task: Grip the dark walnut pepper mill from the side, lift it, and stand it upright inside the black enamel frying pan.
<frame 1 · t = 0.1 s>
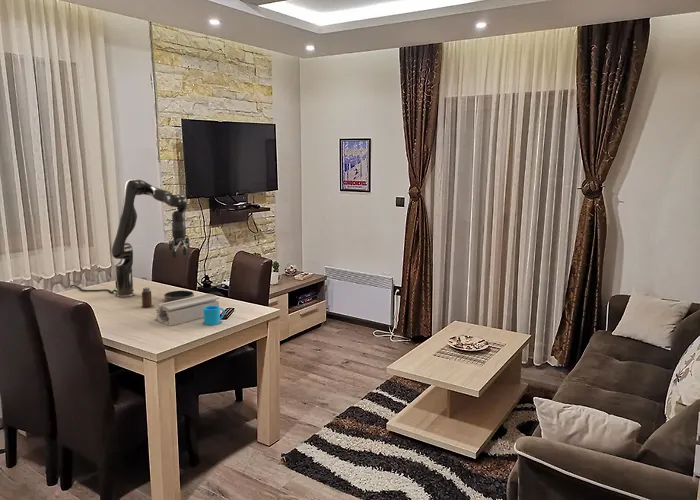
hand: (179, 256, 294), 29 cm above the table, tool pointing down, fingers open, 8 cm apart
pepper mill: (147, 306, 293), on the table
aluminum extrusion profile: (188, 316, 277), on the table
pan: (179, 299, 309), on the table
mug: (215, 322, 268), on the table
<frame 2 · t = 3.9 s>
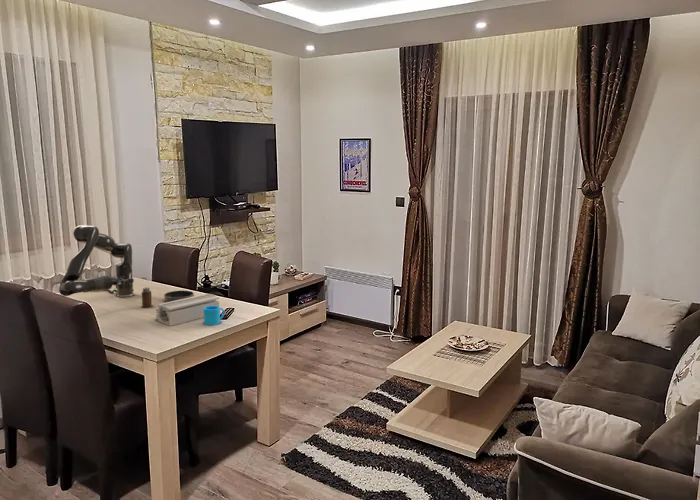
hand: (128, 279, 282), 18 cm above the table, tool horizontal, fingers open, 8 cm apart
nothing on the table moved.
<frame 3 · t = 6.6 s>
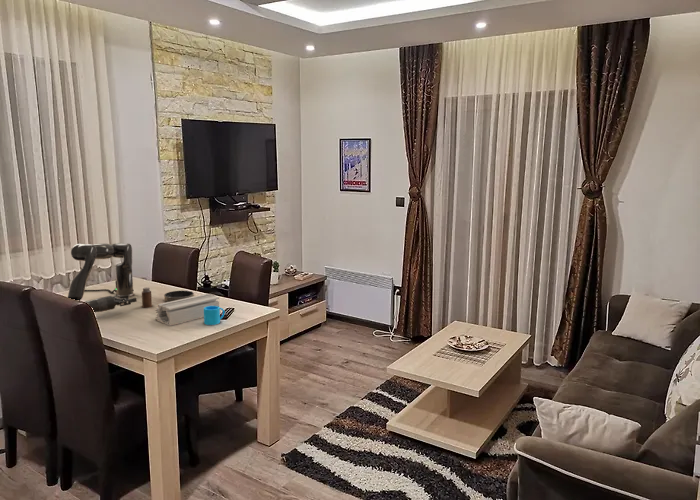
hand: (132, 298, 286), 7 cm above the table, tool horizontal, fingers open, 8 cm apart
nothing on the table moved.
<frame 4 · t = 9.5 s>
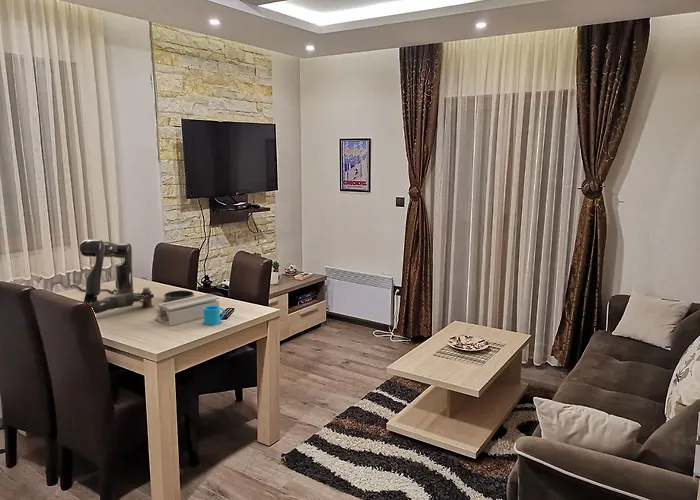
hand: (150, 294, 294), 7 cm above the table, tool horizontal, fingers closed on pepper mill, 5 cm apart
pepper mill: (147, 306, 293), on the table, touching gripper
everything else where it was.
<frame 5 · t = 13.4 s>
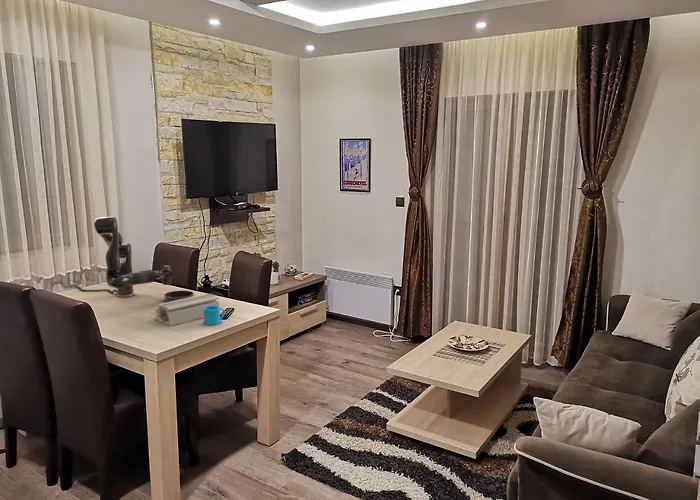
hand: (170, 272, 302), 18 cm above the table, tool horizontal, fingers closed on pepper mill, 5 cm apart
pepper mill: (167, 283, 302), point 11 cm above the table, touching gripper
everything else where it was.
when the fingers open (7 cm above the table, at t = 17.8 s): pepper mill stays where it is, resting on pan.
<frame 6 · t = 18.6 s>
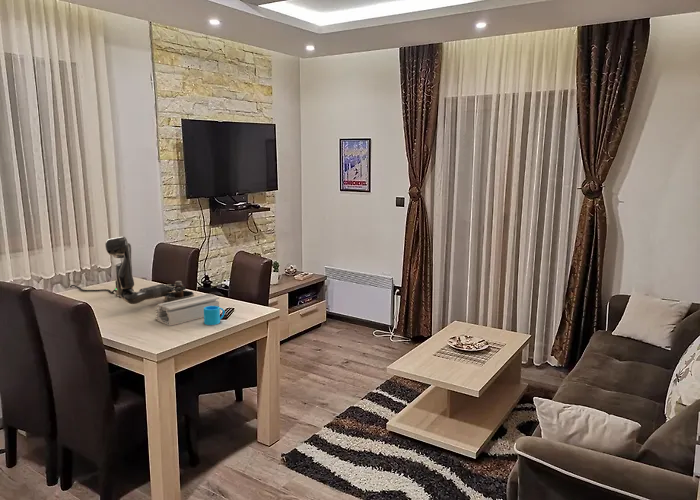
hand: (181, 286, 309), 8 cm above the table, tool horizontal, fingers open, 8 cm apart
pepper mill: (179, 298, 309), resting on pan
everything else where it was.
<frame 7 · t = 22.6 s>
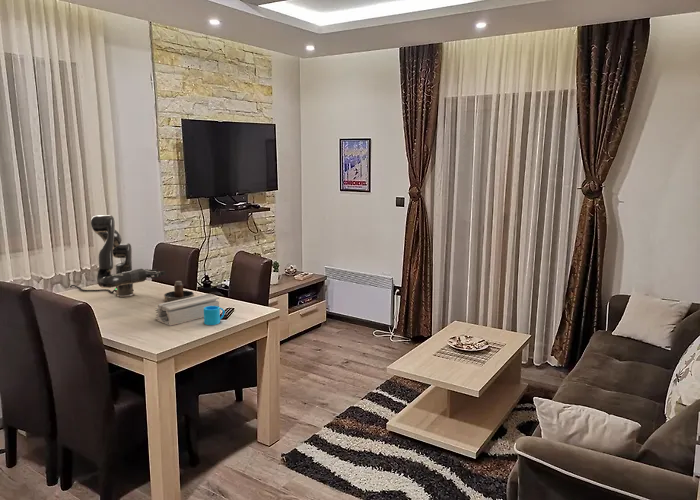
hand: (161, 271, 297), 19 cm above the table, tool horizontal, fingers open, 8 cm apart
nothing on the table moved.
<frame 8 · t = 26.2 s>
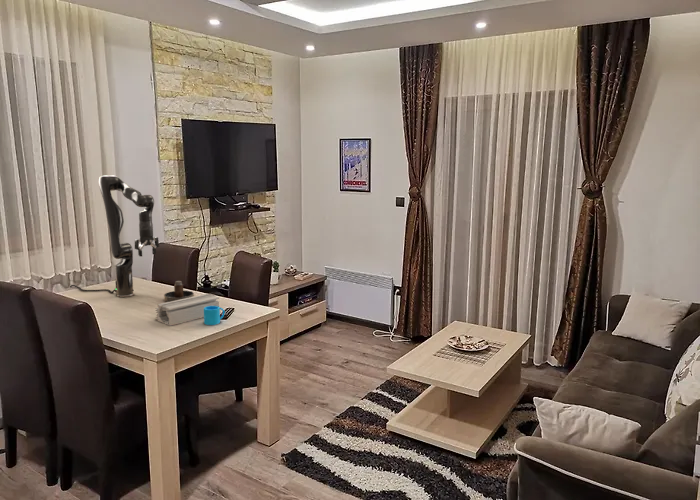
hand: (147, 255, 301), 28 cm above the table, tool pointing down, fingers open, 8 cm apart
nothing on the table moved.
at the end: pepper mill inside the target area in the pan (0.1 cm from its centre), point 0.5 cm above the pan's base; pepper mill tilted 0°; the gripper is holding nothing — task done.
